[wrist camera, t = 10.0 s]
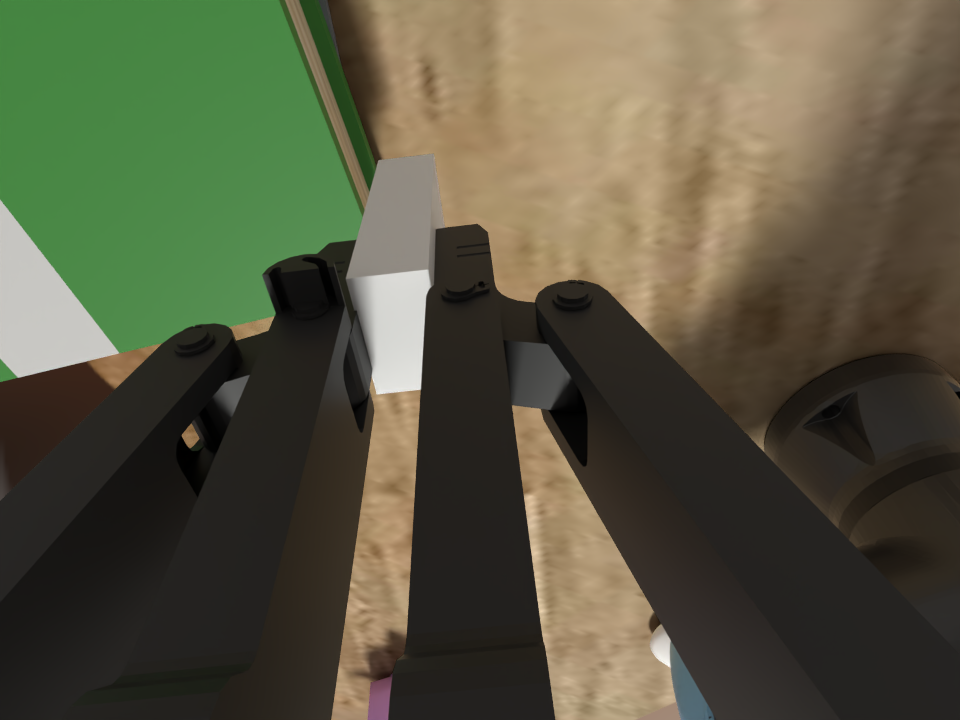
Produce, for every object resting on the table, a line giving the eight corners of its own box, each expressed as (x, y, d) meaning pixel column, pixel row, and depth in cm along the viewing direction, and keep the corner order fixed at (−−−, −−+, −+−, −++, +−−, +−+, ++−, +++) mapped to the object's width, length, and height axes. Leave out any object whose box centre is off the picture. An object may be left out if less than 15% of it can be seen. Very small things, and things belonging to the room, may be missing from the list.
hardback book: (389, 288, 30) (-32, 389, 33) (397, 225, 36) (39, 314, 38) (216, -161, 20) (-394, 36, 22) (266, -148, 25) (-220, 7, 28)
